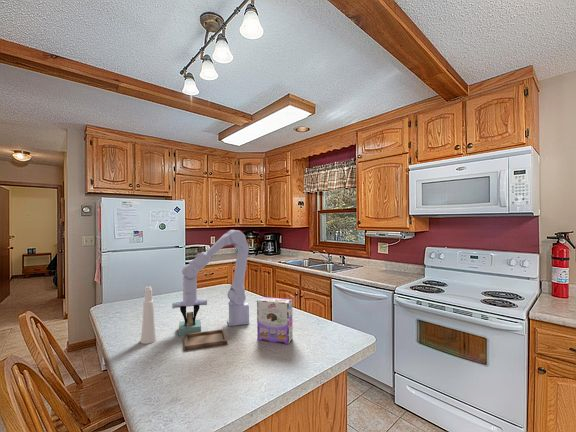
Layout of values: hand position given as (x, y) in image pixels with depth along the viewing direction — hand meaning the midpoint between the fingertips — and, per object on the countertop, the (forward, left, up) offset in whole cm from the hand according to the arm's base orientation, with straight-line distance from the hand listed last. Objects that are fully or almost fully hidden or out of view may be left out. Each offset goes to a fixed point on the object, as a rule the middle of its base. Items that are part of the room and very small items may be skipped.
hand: (189, 322), depth 125 cm
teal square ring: (0, 0, -4) cm, 4 cm away
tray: (-6, +13, -4) cm, 15 cm away
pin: (0, 0, -4) cm, 4 cm away
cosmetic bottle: (+16, +5, -4) cm, 17 cm away
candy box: (-33, +21, -4) cm, 39 cm away
